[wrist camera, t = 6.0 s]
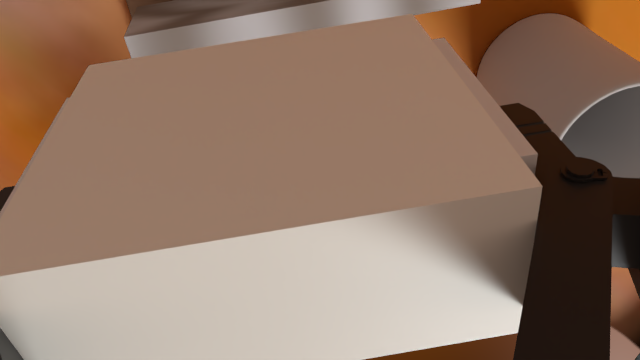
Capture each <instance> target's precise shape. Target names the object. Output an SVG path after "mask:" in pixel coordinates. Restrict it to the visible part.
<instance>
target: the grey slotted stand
mask: <svg viewBox="0 0 640 360" xmlns="http://www.w3.org/2000/svg"><path fill="white" fill-rule="evenodd" d="M126 2H127V5H128V8H129V11H130V14H131V16H132V20H131V22H130V24H129V27H128V29H127V31H126V33H125V36H124V39H125V42H126V44H127V47H128V50H129V53H130V55H131V58H138V57H144V56H150V55H156V54H163V53H169V52H175V51H182V50H188V49H194V48H200V47H207V46H213V45H219V44H226V43H232V42H238V41H245V40H251V39H257V38H263V37H270V36H276V35H282V34H289V33H295V32H301V31H308V30H314V29H320V28H326V27H333V26H339V25H345V24H352V23H358V22H364V21H370V20H377V19H383V18H389V17H396V16H402V15H408V14H413V15H418V14H424V13H429V12H435V11H440V10H446V9H451V8H457V7H462V6H468V5H473V4H479V3H481V0H126Z"/></svg>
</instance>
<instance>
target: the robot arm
mask: <svg viewBox="0 0 640 360" xmlns="http://www.w3.org/2000/svg"><path fill="white" fill-rule="evenodd" d="M432 41H433V42H434V43H435V45H436V46H437V47H438V49H439V50H440V51H441V53H442V54H443V55H444V57H445V58H446V59H447V60H448V62H449V63H450V64H451V66H452V67H453V68H454V70H455V71H456V72H457V74H458V75H459V76H460V78H461V79H462V80H463V82H464V83H465V84H466V86H467V87H468V88H469V90H470V91H471V92H472V94H473V95H474V96H475V97H476V99H477V100H478V101H479V103H480V104H481V105H482V107H483V108H484V109H485V111H486V112H487V113H488V115H489V116H490V117H491V119H492V120H493V121H494V123H495V124H496V125H497V127H498V128H499V129H500V131H501V132H502V133H503V134H504V136H505V137H506V138H507V140H508V141H509V142H510V144H511V145H512V146H513V148H514V149H515V150H516V152H517V153H518V154H519V156H520V157H521V158H522V160H523V161H524V162H525V164H526V165H527V166H528V168H529V169H530V170H531V171H532V173H533V174H534V175H535V177H536V178H537V179H538V181H539V182H540V183H541V185H542V186H543V187H542V193H541V200H540V206H539V212H538V219H537V225H536V231H535V238H534V244H533V250H532V256H531V262H530V267H529V273H528V279H527V284H526V290H525V296H524V301H523V307H522V313H521V318H520V324H519V330H518V336H517V341H516V347H515V352H514V358H513V360H610V314H611V268H612V267H622V268H628V269H629V272H630V275H631V277H632V280H633V283H634V285H635V288H636V291H637V293H638V296H639V299H640V178H622V177H613V176H612V173H611V171H610V170H609V169H608V168H607V167H606V166H605V165H603V164H601V163H599V162H597V161H595V160H592V159H588V158H583V157H576V156H575V155H574V154H573V153H572V152H571V151H570V150H569V149H568V147H567V146H566V145H565V144H564V143H563V142H562V141H561V140H560V139H559V137H558V136H557V135H556V134H555V133H554V132H551V129H550V128H549V126H548V125H547V124H546V123H544V121H543V120H542V119H541V118H540V117H539V115H538V114H537V113H536V112H535V111H534V110H532V109H530V108H528V107H526V106H524V105H522V104H520V103H514V104H508V105H502V106H499V105H498V104H497V103H496V101H495V100H494V99H493V98H492V96H491V95H490V94H489V93H488V91H487V90H486V89H485V88H484V87H483V85H482V84H481V83H480V82H479V80H478V79H477V78H476V77H475V75H474V74H473V73H472V72H471V70H470V69H469V68H468V67H467V65H466V64H465V63H464V62H463V61H462V59H461V58H460V57H459V56H458V54H457V53H456V52H455V51H454V49H453V48H452V47H451V46H450V44H449V43H448V42H447V41H446V39H445V38H439V39H433V40H432ZM69 99H70V98H66V100H65V102H64V104H63V105H62V107H61V109H60V110H59V112H58V114H57V116H56V117H55V119H54V121H53V122H52V124H51V126H50V128H49V129H48V131H47V133H46V134H45V136H44V138H43V139H42V141H41V143H40V145H39V146H38V148H37V150H36V151H35V153H34V155H33V157H32V158H31V160H30V162H29V163H28V165H27V167H26V169H25V170H24V172H23V174H22V175H21V177H20V179H19V181H18V182H17V184H16V186H12V187H6V188H4V189H2V190H1V191H0V218H1V216H2V215H3V213H4V211H5V210H6V208H7V206H8V204H9V203H10V201H11V199H12V197H13V196H14V194H15V192H16V190H17V189H18V187H19V185H20V184H21V182H22V180H23V178H24V177H25V175H26V173H27V171H28V170H29V168H30V166H31V164H32V163H33V161H34V159H35V157H36V156H37V154H38V152H39V151H40V149H41V147H42V145H43V144H44V142H45V140H46V138H47V137H48V135H49V133H50V131H51V130H52V128H53V126H54V125H55V123H56V121H57V119H58V118H59V116H60V114H61V112H62V111H63V109H64V107H65V105H66V104H67V102H68V100H69ZM0 360H24V359H23V358H22V356H21V355H20V354H19V352H18V351H17V350H16V348H15V347H14V346H13V344H12V343H11V342H10V340H9V339H8V337H7V336H6V335H5V333H4V332H3V331H2V329H1V328H0Z"/></svg>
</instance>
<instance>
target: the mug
mask: <svg viewBox="0 0 640 360" xmlns="http://www.w3.org/2000/svg"><path fill="white" fill-rule="evenodd" d="M477 79H478V80H479V82H480V83H481V84H482V85H483V87H484V88H485V89H486V90H487V91H488V93H489V94H490V95H491V96H492V98H493V99H494V100H495V101H496V103H497V104H498V105H499V106H502V105H508V104H514V103H520V104H522V105H524V106H526V107H528V108H530V109H532V110H534V111H535V112H536V113H537V114H538V115H539V117H540V118H541V119H542V120H543V121H544V123H546V124H547V125H548V126H549V128H550V129H551V132H554V133H555V134H556V135H557V136H558V137H559V139H560V140H561V141H562V142H563V143H564V144H565V145H566V146H567V147H568V149H569V150H570V151H571V152H572V153H573V154H574V155H575V156H576V157H583V158H588V159H592V160H595V161H597V162H599V163H601V164H603V165H605V166H606V167H607V168H608V169H609V170H610V171H611V173H612V176H613V177H622V178H640V62H639V61H637V60H636V59H634V58H632V57H631V56H629V55H628V54H626V53H625V52H623V51H621V50H620V49H618V48H617V47H615V46H614V45H612V44H610V43H609V42H607V41H606V40H604V39H603V38H601V37H600V36H598V35H597V34H595V33H594V32H592V31H591V30H590V29H588V28H587V27H585V26H584V25H582V24H581V23H579V22H578V21H576V20H574V19H572V18H570V17H568V16H565V15H560V14H554V13H545V14H538V15H533V16H530V17H527V18H524V19H522V20H520V21H518V22H516V23H515V24H513V25H511V26H510V27H509V28H507V29H506V30H505V31H503V32H502V33H501V34H500V35H499V36H498V37H497V38H496V39H495V40H494V41H493V43H492V44H491V45H490V46H489V48H488V49H487V51H486V53H485V54H484V56H483V58H482V60H481V63H480V65H479V69H478V73H477Z"/></svg>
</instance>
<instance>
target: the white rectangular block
mask: <svg viewBox="0 0 640 360" xmlns="http://www.w3.org/2000/svg"><path fill="white" fill-rule="evenodd" d="M542 187H543V186H542V185H541V183H540V182H539V181H538V179H537V178H536V177H535V175H534V174H533V173H532V171H531V170H530V169H529V168H528V166H527V165H526V164H525V162H524V161H523V160H522V158H521V157H520V156H519V154H518V153H517V152H516V150H515V149H514V148H513V146H512V145H511V144H510V142H509V141H508V140H507V138H506V137H505V136H504V134H503V133H502V132H501V131H500V129H499V128H498V127H497V125H496V124H495V123H494V121H493V120H492V119H491V117H490V116H489V115H488V113H487V112H486V111H485V109H484V108H483V107H482V105H481V104H480V103H479V101H478V100H477V99H476V97H475V96H474V95H473V94H472V92H471V91H470V90H469V88H468V87H467V86H466V84H465V83H464V82H463V80H462V79H461V78H460V76H459V75H458V74H457V72H456V71H455V70H454V68H453V67H452V66H451V64H450V63H449V62H448V60H447V59H446V58H445V57H444V55H443V54H442V53H441V51H440V50H439V49H438V47H437V46H436V45H435V43H434V42H433V41H432V39H431V38H430V37H429V35H428V34H427V33H426V31H425V30H424V29H423V27H422V26H421V25H420V23H419V22H418V21H417V20H416V18H415V17H414V16H413V14H408V15H402V16H396V17H389V18H383V19H377V20H370V21H364V22H358V23H352V24H345V25H339V26H333V27H326V28H320V29H314V30H308V31H301V32H295V33H289V34H282V35H276V36H270V37H263V38H257V39H251V40H245V41H238V42H232V43H226V44H219V45H213V46H207V47H200V48H194V49H188V50H182V51H175V52H169V53H163V54H156V55H150V56H144V57H138V58H131V59H125V60H119V61H112V62H106V63H100V64H93V65H89V66H88V67H87V69H86V71H85V73H84V74H83V76H82V78H81V79H80V81H79V83H78V85H77V86H76V88H75V90H74V92H73V93H72V95H71V97H70V99H69V100H68V102H67V104H66V105H65V107H64V109H63V111H62V112H61V114H60V116H59V118H58V119H57V121H56V123H55V125H54V126H53V128H52V130H51V131H50V133H49V135H48V137H47V138H46V140H45V142H44V144H43V145H42V147H41V149H40V151H39V152H38V154H37V156H36V157H35V159H34V161H33V163H32V164H31V166H30V168H29V170H28V171H27V173H26V175H25V177H24V178H23V180H22V182H21V184H20V185H19V187H18V189H17V190H16V192H15V194H14V196H13V197H12V199H11V201H10V203H9V204H8V206H7V208H6V210H5V211H4V213H3V215H2V216H1V218H0V328H1V329H2V331H3V332H4V333H5V335H6V336H7V337H8V339H9V340H10V342H11V343H12V344H13V346H14V347H15V348H16V350H17V351H18V352H19V354H20V355H21V356H22V358H23V359H24V360H362V359H368V358H374V357H380V356H386V355H391V354H396V353H403V352H408V351H415V350H420V349H426V348H432V347H438V346H444V345H449V344H455V343H461V342H467V341H473V340H478V339H485V338H490V337H496V336H502V335H508V334H513V333H518V330H519V324H520V318H521V313H522V307H523V301H524V296H525V290H526V284H527V279H528V273H529V267H530V262H531V256H532V250H533V244H534V238H535V231H536V225H537V219H538V212H539V206H540V200H541V193H542Z"/></svg>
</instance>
